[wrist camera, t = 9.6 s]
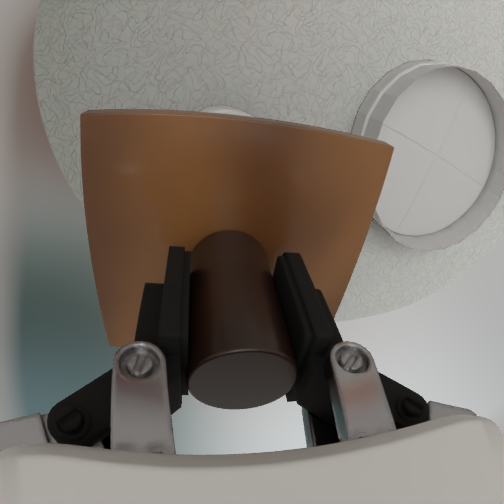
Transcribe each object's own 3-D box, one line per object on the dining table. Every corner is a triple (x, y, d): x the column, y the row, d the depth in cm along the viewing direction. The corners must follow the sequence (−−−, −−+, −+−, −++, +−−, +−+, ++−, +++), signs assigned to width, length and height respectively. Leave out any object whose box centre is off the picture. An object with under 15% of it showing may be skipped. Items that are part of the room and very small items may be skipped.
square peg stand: (111, 334, 15) (92, 444, 10) (88, 109, 9) (-20, 174, 4) (316, 339, 17) (350, 439, 12) (385, 141, 11) (497, 219, 6)
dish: (507, 117, 30) (532, 128, 26) (442, 247, 41) (460, 267, 37) (393, 22, 23) (421, 21, 19) (315, 202, 34) (331, 225, 30)
